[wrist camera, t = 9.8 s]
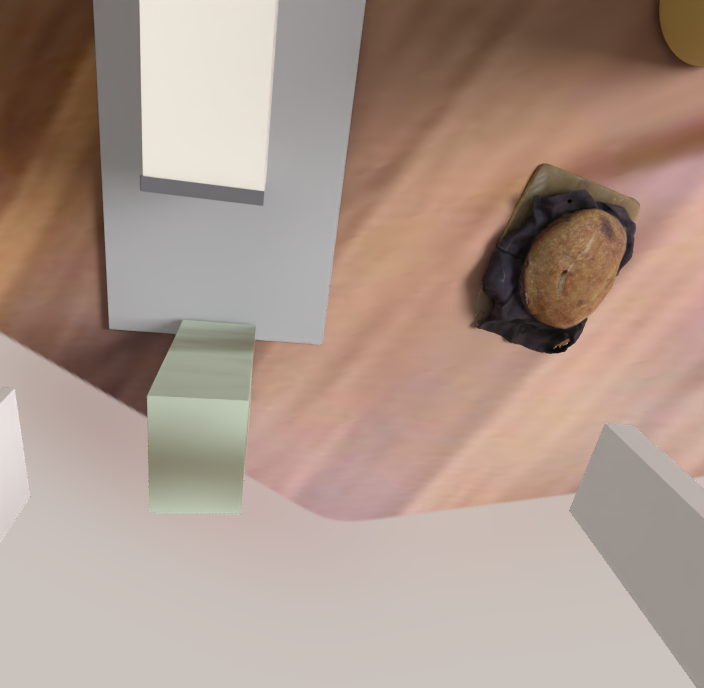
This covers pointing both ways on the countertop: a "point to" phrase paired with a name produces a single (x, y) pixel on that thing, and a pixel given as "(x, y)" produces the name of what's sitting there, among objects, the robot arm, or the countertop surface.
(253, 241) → the block
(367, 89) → the countertop surface
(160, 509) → the pale green block
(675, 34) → the paper tube
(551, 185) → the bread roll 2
